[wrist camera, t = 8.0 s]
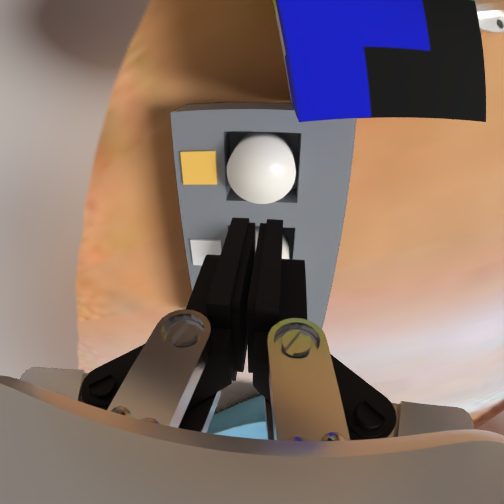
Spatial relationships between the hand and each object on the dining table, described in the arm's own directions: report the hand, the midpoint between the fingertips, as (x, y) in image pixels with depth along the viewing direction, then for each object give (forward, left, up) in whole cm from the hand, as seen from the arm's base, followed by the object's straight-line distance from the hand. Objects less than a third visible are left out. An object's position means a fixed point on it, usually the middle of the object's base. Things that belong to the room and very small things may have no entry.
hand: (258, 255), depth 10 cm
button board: (0, +8, -15) cm, 17 cm away
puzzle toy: (-6, -9, -15) cm, 19 cm away
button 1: (0, +1, -13) cm, 13 cm away
